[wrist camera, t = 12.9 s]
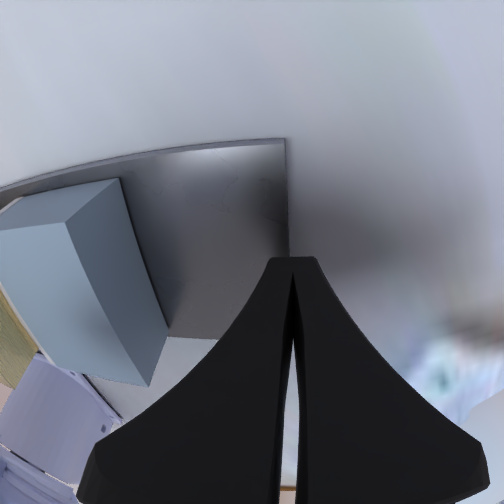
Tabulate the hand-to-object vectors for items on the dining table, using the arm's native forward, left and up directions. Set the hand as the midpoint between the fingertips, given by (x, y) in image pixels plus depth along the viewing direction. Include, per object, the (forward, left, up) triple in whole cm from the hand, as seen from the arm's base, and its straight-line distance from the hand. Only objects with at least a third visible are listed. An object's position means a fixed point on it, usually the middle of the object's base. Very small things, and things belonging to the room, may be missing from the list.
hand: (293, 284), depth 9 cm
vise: (0, +9, -2) cm, 9 cm away
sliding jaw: (0, +8, -1) cm, 8 cm away
